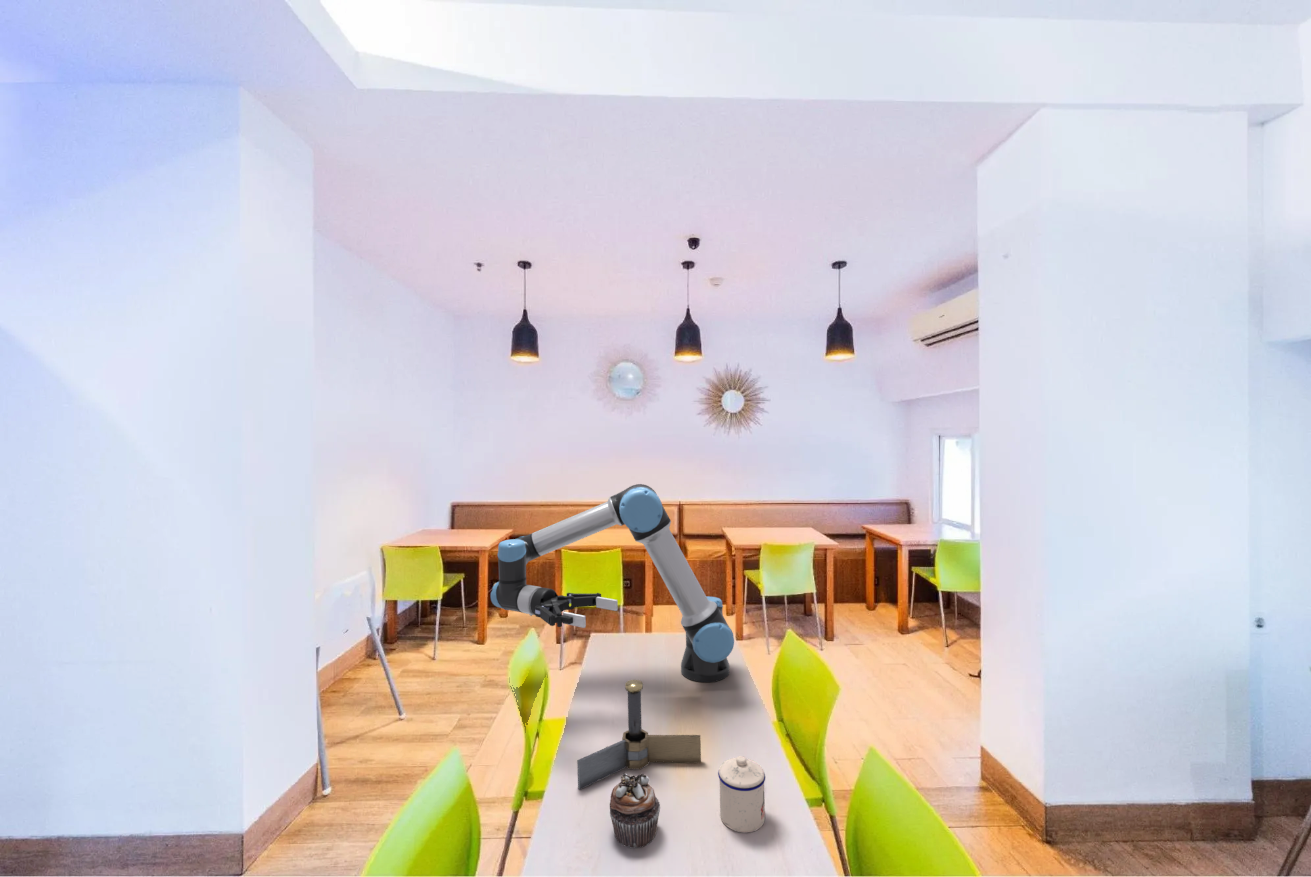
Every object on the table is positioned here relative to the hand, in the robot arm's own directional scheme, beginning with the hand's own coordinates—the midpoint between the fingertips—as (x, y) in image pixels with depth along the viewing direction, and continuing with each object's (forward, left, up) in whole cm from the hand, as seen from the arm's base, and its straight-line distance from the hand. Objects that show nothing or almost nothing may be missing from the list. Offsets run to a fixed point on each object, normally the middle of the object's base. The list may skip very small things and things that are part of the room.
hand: (601, 613), depth 135 cm
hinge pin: (-9, +12, -30) cm, 34 cm away
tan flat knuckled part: (-15, +12, -30) cm, 36 cm away
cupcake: (-11, +34, -30) cm, 47 cm away
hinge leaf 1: (-4, +16, -30) cm, 34 cm away
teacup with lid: (-31, +28, -30) cm, 52 cm away
